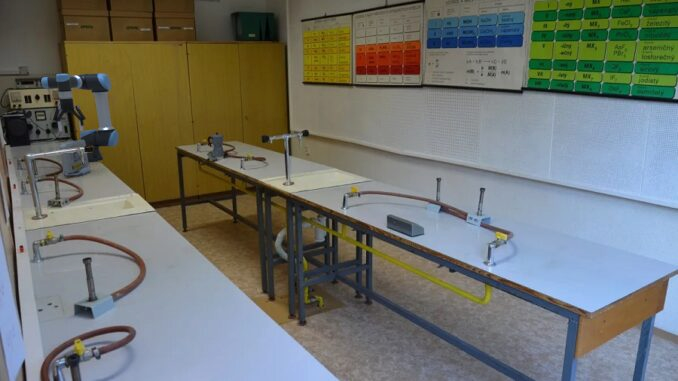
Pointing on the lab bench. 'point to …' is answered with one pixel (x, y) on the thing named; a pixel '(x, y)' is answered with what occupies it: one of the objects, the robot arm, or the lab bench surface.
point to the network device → (73, 158)
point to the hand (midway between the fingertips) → (71, 131)
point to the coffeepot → (217, 144)
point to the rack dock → (83, 170)
